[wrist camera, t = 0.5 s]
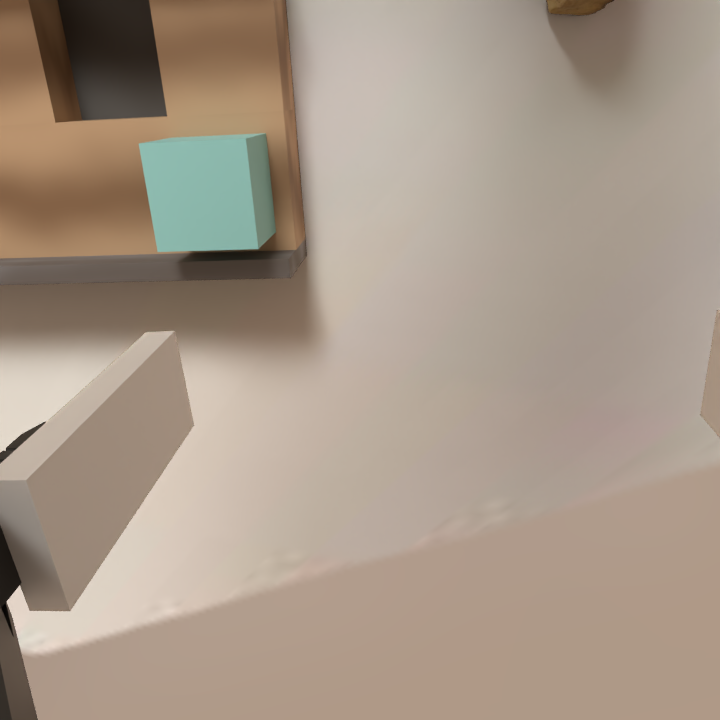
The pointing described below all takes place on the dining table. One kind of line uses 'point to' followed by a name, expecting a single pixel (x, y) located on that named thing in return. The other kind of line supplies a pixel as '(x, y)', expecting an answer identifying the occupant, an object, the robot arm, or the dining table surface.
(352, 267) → the dining table surface
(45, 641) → the dining table surface
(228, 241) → the block
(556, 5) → the rock
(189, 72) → the trap board
